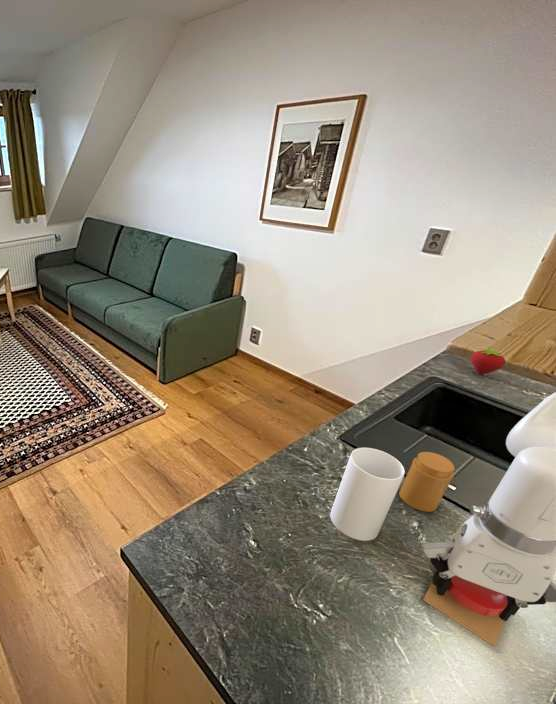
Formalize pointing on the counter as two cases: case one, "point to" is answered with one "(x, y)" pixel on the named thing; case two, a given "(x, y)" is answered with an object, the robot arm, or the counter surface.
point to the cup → (366, 493)
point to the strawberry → (487, 361)
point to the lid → (477, 597)
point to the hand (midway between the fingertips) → (468, 599)
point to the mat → (465, 615)
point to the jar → (427, 481)
